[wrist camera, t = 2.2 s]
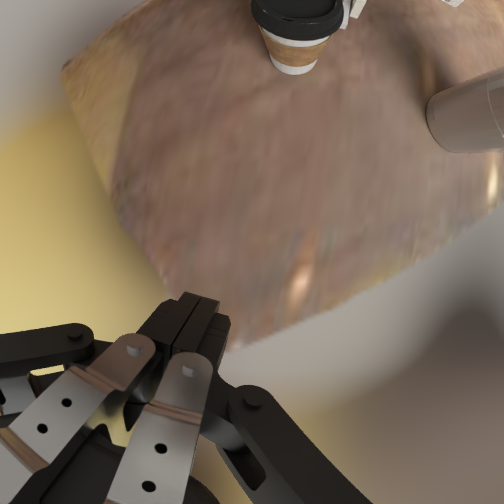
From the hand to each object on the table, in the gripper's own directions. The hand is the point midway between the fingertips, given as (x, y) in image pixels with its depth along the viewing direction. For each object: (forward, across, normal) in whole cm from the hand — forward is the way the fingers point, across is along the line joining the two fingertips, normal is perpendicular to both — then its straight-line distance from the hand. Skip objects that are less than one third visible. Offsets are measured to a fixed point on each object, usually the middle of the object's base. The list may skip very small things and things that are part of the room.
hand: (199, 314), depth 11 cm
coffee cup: (+26, 0, -22) cm, 34 cm away
